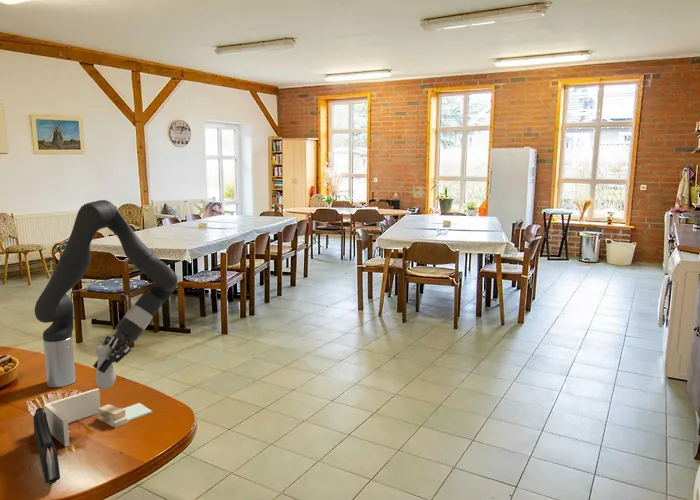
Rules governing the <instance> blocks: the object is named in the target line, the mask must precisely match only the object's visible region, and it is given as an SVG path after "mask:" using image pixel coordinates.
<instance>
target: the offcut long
mask: <svg viewBox="0 0 700 500" xmlns="http://www.w3.org/2000/svg"><path fill="white" fill-rule="evenodd" d="M96 416H97V419H98V420H99V421H101V422H103V423H105V424H107V425H108V426H111V427H113V428H115V429H117V428H119V427H122V426H124V425H127V424H128V422H127V418H126V417H123V418H121V419H119V420H117V421H114V420H111V419H108V418H106V417H103V416H100V415H99V414H98V413H97V414H96Z"/></svg>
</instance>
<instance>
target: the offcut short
mask: <svg viewBox="0 0 700 500" xmlns="http://www.w3.org/2000/svg"><path fill="white" fill-rule="evenodd" d="M97 414H99V415H100V416H103V417H106V418H108V419H111V420H114V421H117V420H119V419H121V418H123V417H125V410H124V409H123V408H121V407H118V406H115V405H112V404H109V403H107V404H105V405H103V406H101V407H100V408H98V413H97Z"/></svg>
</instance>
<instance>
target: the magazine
mask: <svg viewBox="0 0 700 500" xmlns="http://www.w3.org/2000/svg"><path fill="white" fill-rule="evenodd" d="M32 418H33V429H34V430H33V431H34V437H35V443H36V446H37V451H38V452H37V454H38V458H39V463H40V466H41V470H42V474H43V477H44V482H45V483H46V484H49V485H52V483H53V484H55V483H57V481H58V480H60V479H61V474H60V473H61V472H60V464H59V457H58V456H59V455H58V452H57V450H56V447H55V445H54V441H53V438H52V434H51V433H50V430H49V426H48V422H47V416H46V413H45V410H44V407H38V408H36V409H35V413H34V415H33V416H32Z"/></svg>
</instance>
